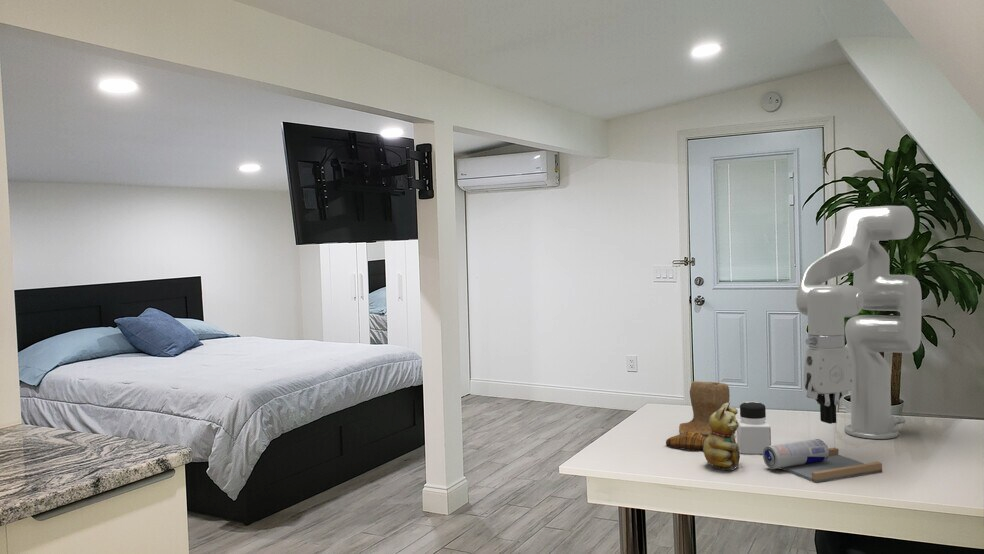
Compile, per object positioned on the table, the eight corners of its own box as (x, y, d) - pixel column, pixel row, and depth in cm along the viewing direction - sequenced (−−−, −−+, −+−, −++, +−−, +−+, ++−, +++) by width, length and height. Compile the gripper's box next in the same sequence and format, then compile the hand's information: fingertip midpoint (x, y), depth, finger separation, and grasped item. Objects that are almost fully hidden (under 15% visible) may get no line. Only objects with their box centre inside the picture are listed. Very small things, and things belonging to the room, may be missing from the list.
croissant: (662, 450, 185) (662, 431, 185) (668, 443, 191) (668, 425, 191) (717, 455, 179) (716, 435, 179) (721, 448, 185) (720, 429, 185)
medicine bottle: (771, 454, 177) (770, 406, 176) (741, 454, 178) (739, 406, 178) (766, 446, 183) (765, 400, 183) (737, 446, 185) (735, 400, 185)
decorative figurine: (736, 474, 162) (734, 408, 162) (699, 470, 166) (696, 406, 166) (743, 462, 171) (741, 400, 170) (708, 459, 175) (706, 398, 174)
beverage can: (812, 444, 171) (758, 452, 167) (823, 434, 168) (769, 442, 163) (822, 464, 168) (768, 472, 164) (834, 455, 165) (779, 463, 160)
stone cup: (730, 429, 202) (728, 376, 202) (738, 440, 190) (736, 384, 190) (674, 429, 204) (673, 377, 204) (679, 440, 192) (677, 385, 192)
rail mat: (835, 455, 173) (834, 447, 173) (882, 472, 160) (882, 463, 160) (772, 465, 168) (772, 456, 168) (815, 482, 155) (815, 473, 155)
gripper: (811, 346, 158) (813, 429, 158) (865, 341, 162) (867, 422, 163) (787, 342, 165) (789, 422, 165) (840, 338, 169) (842, 415, 170)
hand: (828, 421), depth 164 cm, fingers closed
